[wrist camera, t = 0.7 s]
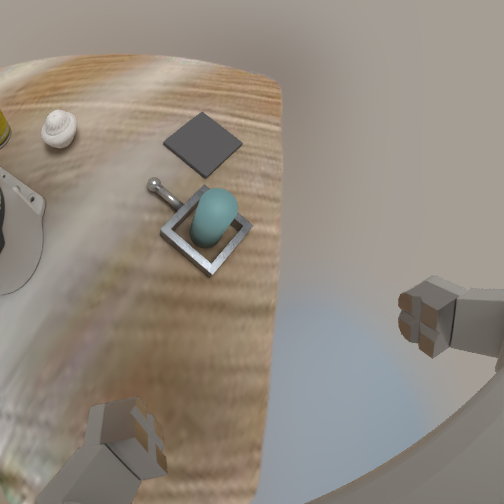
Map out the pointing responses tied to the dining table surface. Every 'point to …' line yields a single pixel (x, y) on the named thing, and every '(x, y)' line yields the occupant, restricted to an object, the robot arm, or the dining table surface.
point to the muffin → (59, 129)
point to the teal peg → (213, 217)
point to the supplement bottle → (4, 130)
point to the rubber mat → (202, 144)
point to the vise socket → (178, 218)
